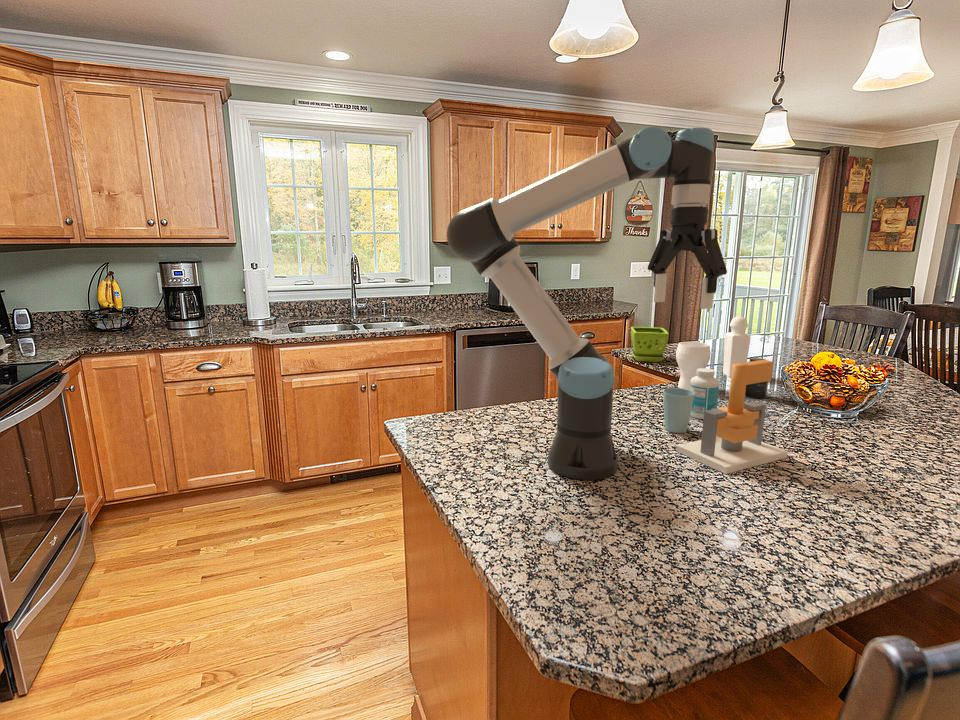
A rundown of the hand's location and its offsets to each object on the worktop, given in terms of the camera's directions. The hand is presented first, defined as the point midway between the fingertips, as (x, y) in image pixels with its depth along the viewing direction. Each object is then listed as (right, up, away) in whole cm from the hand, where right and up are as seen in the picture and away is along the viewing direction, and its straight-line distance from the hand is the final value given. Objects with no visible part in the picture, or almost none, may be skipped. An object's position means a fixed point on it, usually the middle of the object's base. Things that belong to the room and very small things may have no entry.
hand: (681, 305), depth 119 cm
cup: (+7, -31, +22) cm, 38 cm away
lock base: (+13, -34, +5) cm, 37 cm away
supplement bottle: (+43, -24, +51) cm, 71 cm away
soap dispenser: (+48, -18, +77) cm, 92 cm away
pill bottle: (+18, -28, +32) cm, 47 cm away
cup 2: (+26, -22, +61) cm, 70 cm away
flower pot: (+25, -12, +104) cm, 107 cm away
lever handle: (+15, -30, +5) cm, 34 cm away
